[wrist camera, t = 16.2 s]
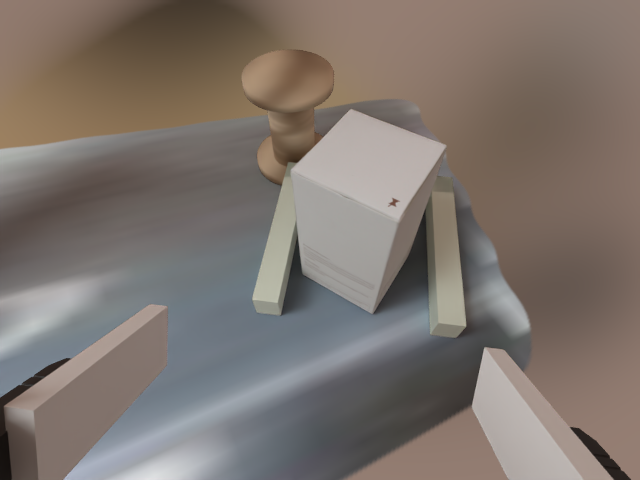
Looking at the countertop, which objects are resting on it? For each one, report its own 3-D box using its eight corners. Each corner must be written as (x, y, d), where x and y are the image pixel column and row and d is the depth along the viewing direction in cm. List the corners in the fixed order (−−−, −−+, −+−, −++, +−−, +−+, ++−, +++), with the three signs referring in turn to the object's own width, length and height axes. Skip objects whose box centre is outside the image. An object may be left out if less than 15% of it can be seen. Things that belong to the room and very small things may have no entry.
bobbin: (250, 182, 38) (230, 98, 29) (267, 132, 42) (253, 46, 34) (326, 190, 37) (327, 105, 29) (335, 138, 42) (338, 52, 33)
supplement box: (411, 253, 33) (453, 144, 22) (372, 317, 29) (399, 224, 19) (342, 217, 35) (351, 104, 25) (298, 273, 32) (286, 169, 21)
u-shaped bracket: (256, 312, 30) (252, 299, 28) (289, 179, 38) (288, 162, 36) (455, 338, 28) (466, 326, 26) (444, 194, 37) (452, 177, 35)
